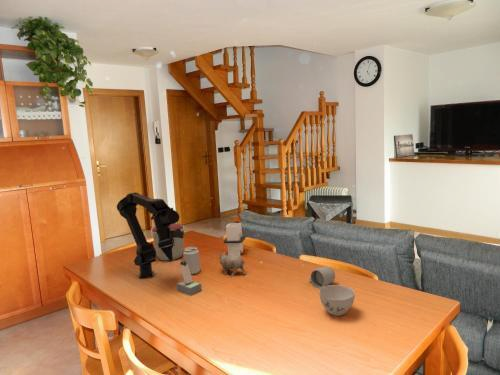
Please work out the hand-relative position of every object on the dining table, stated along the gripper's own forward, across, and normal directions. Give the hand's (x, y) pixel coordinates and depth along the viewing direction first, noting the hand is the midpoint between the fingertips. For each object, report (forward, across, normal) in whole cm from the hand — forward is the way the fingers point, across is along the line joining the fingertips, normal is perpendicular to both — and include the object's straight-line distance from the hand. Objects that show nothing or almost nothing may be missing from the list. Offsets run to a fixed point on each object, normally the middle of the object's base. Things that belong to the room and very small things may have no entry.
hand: (171, 261), depth 171 cm
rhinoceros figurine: (+14, +10, -24) cm, 30 cm away
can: (+9, +16, -7) cm, 20 cm away
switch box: (+14, -6, -4) cm, 16 cm away
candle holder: (+9, +37, -32) cm, 50 cm away
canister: (+1, +42, +3) cm, 42 cm away
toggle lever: (+11, -7, -5) cm, 14 cm away
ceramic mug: (+27, -16, -58) cm, 66 cm away
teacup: (+32, -40, -54) cm, 75 cm away
